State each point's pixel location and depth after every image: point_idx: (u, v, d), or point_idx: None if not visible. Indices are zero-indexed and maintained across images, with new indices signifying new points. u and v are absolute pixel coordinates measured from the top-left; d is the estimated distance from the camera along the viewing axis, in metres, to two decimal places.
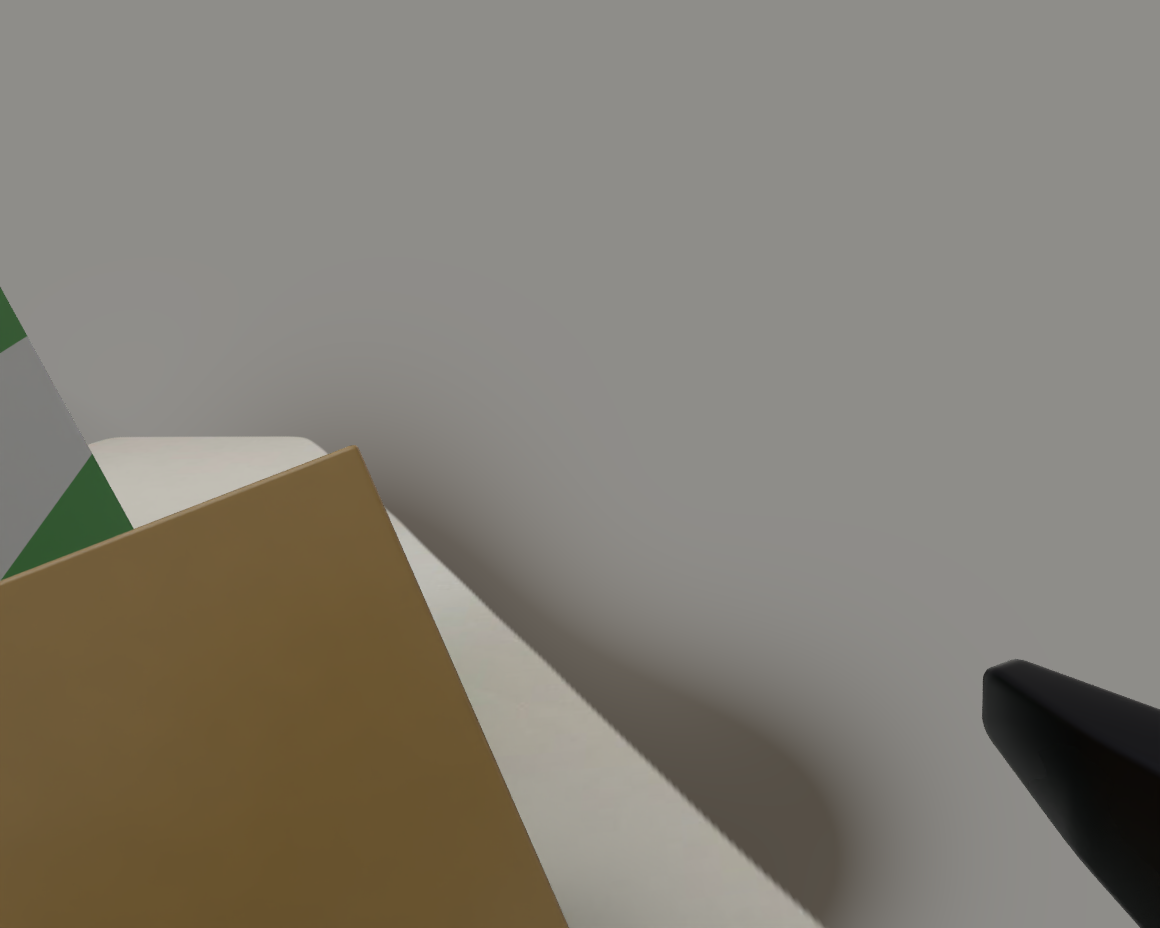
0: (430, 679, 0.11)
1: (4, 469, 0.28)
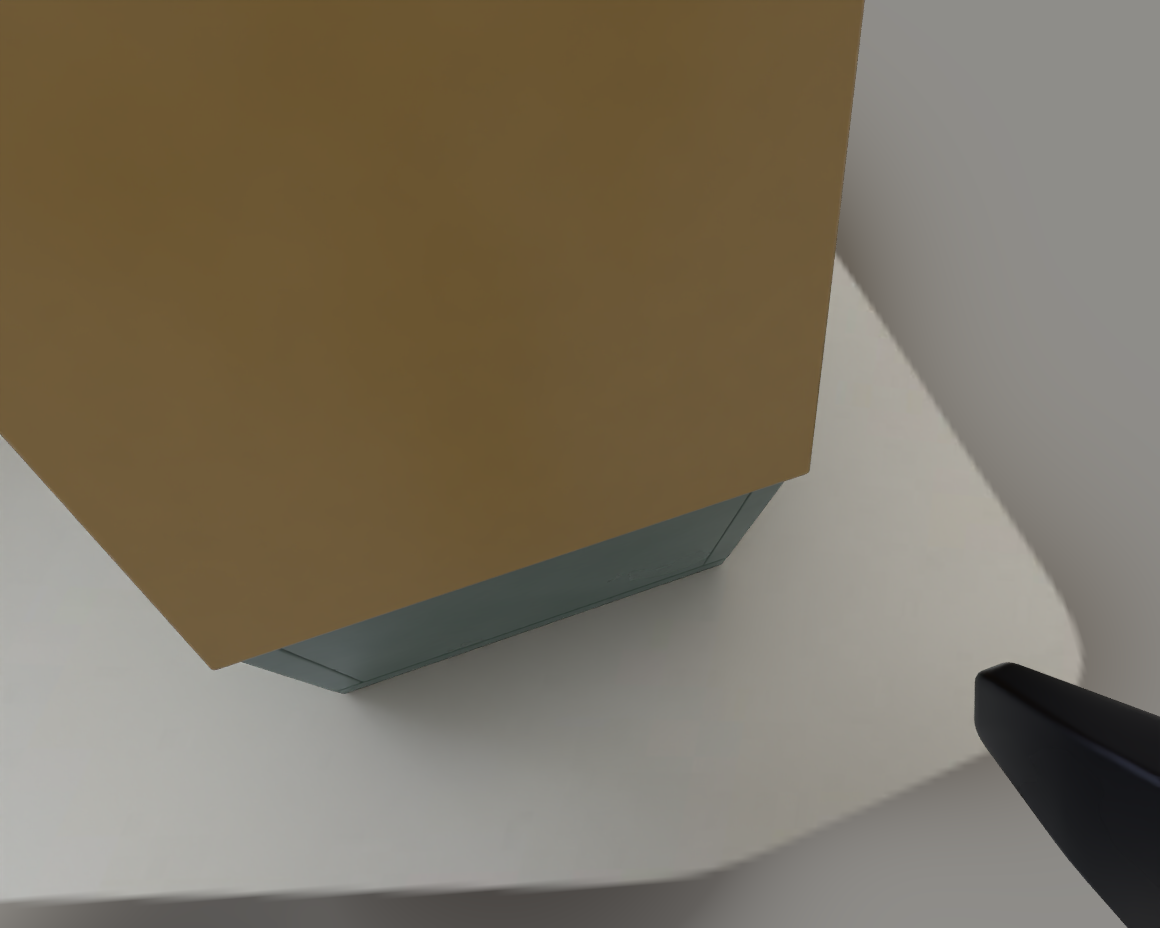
0: None
1: None
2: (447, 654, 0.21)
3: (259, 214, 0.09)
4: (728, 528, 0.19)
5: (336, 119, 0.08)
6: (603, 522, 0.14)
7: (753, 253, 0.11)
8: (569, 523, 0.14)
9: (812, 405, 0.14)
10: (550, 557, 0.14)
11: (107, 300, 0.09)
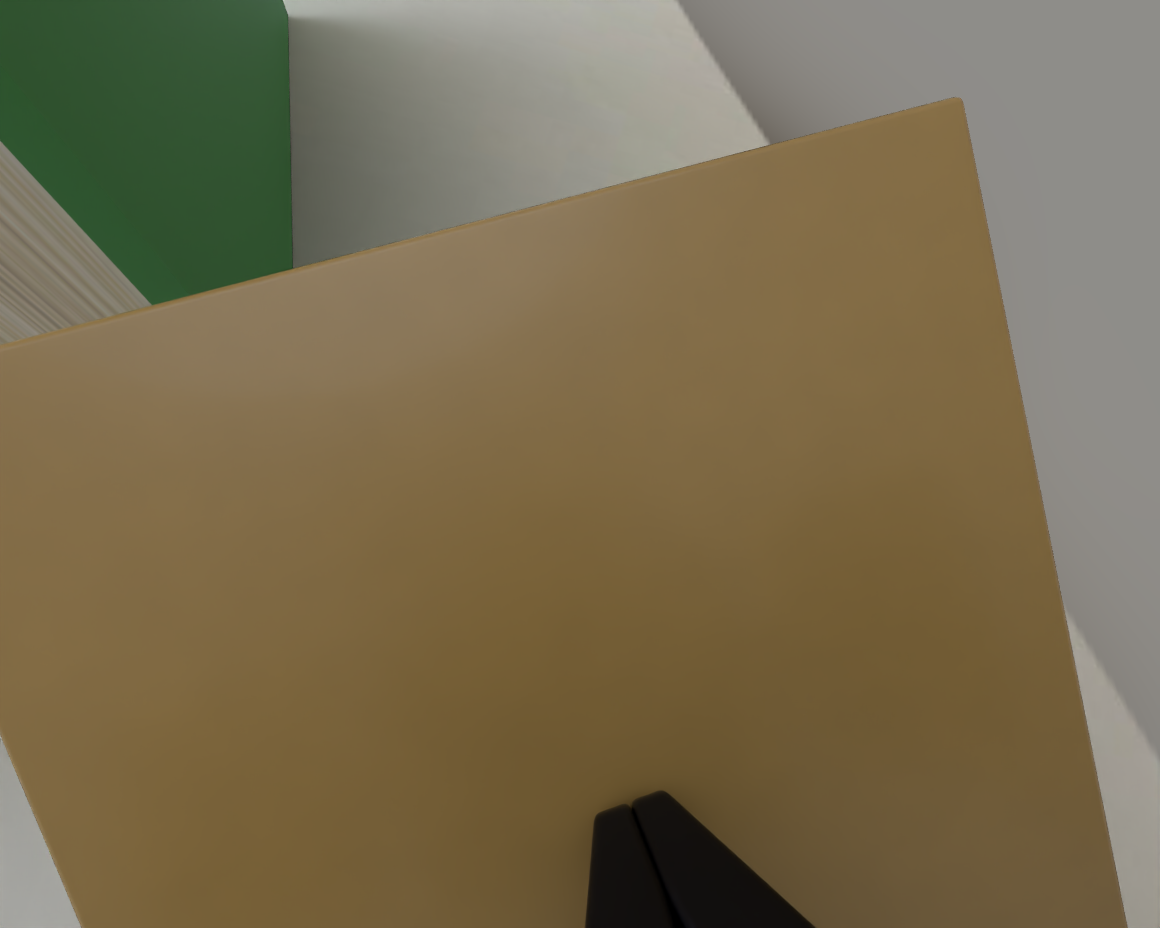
0: (998, 420, 0.09)
1: None
2: None
3: (485, 882, 0.08)
4: None
5: (565, 784, 0.08)
6: None
7: (1014, 864, 0.10)
8: None
9: None
10: None
11: None
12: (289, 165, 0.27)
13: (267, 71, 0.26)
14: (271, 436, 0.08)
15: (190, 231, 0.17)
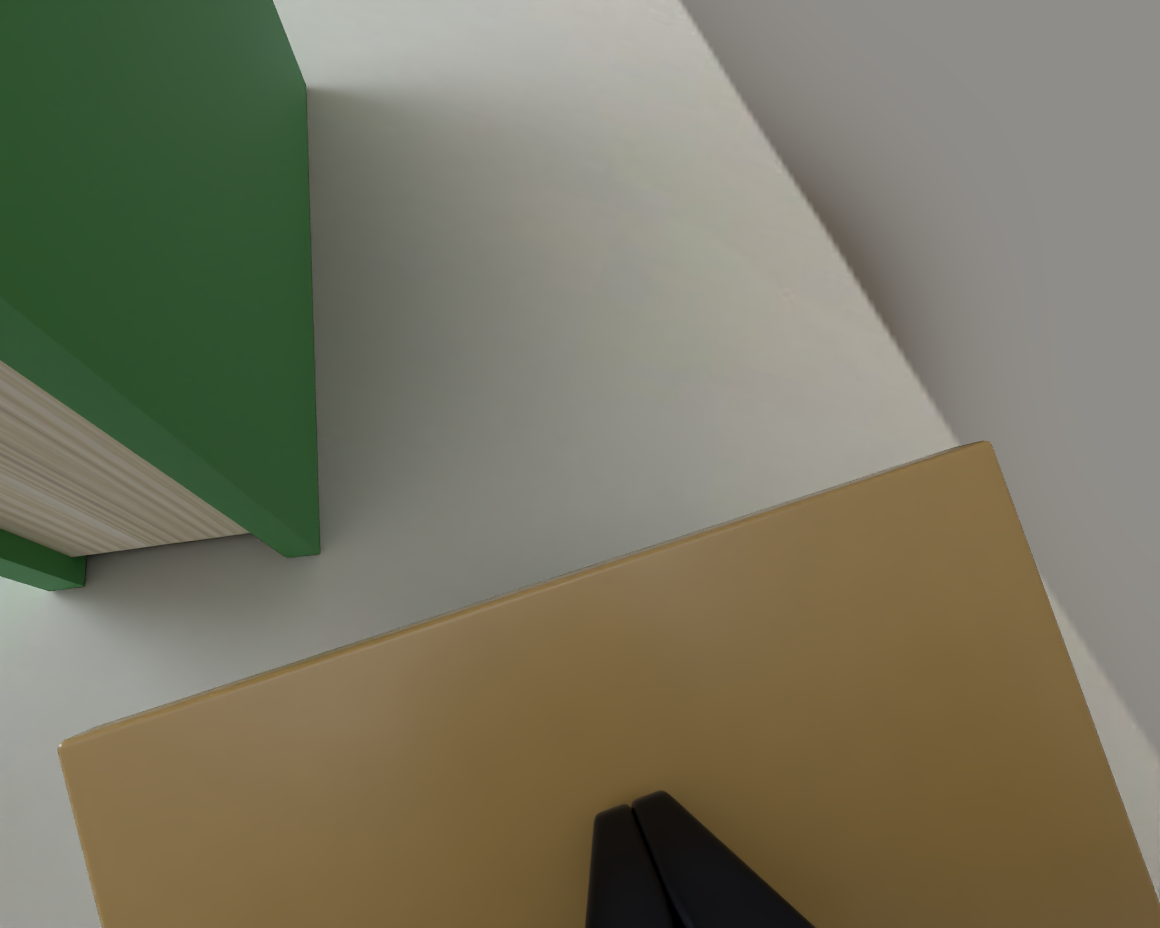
0: (1067, 728, 0.09)
1: None
2: None
3: None
4: None
5: None
6: None
7: None
8: None
9: None
10: None
11: None
12: (309, 256, 0.25)
13: (287, 159, 0.24)
14: (398, 775, 0.09)
15: (211, 389, 0.15)
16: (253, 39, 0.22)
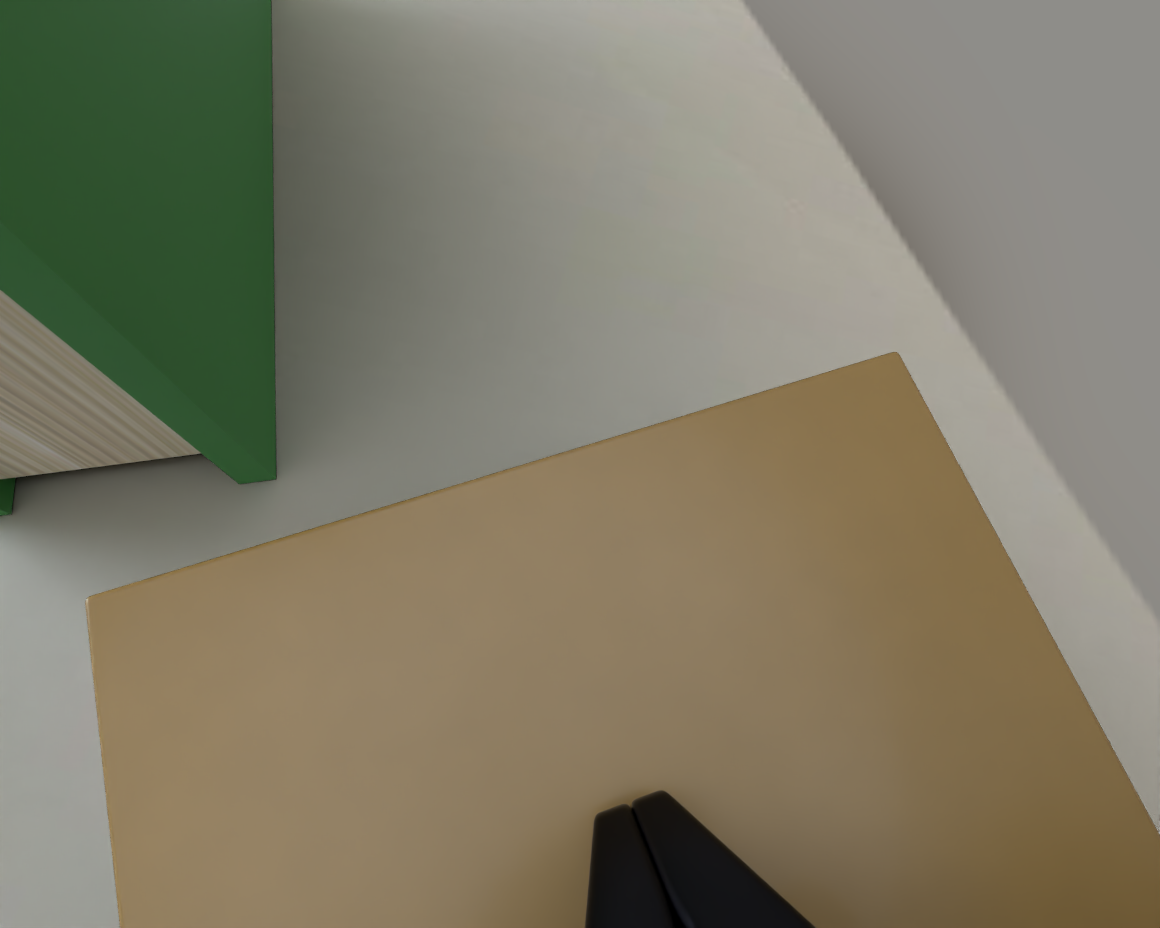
0: (1000, 593, 0.10)
1: None
2: None
3: None
4: None
5: None
6: None
7: None
8: None
9: None
10: None
11: None
12: (270, 164, 0.23)
13: (243, 51, 0.21)
14: (371, 626, 0.10)
15: (128, 253, 0.13)
16: None
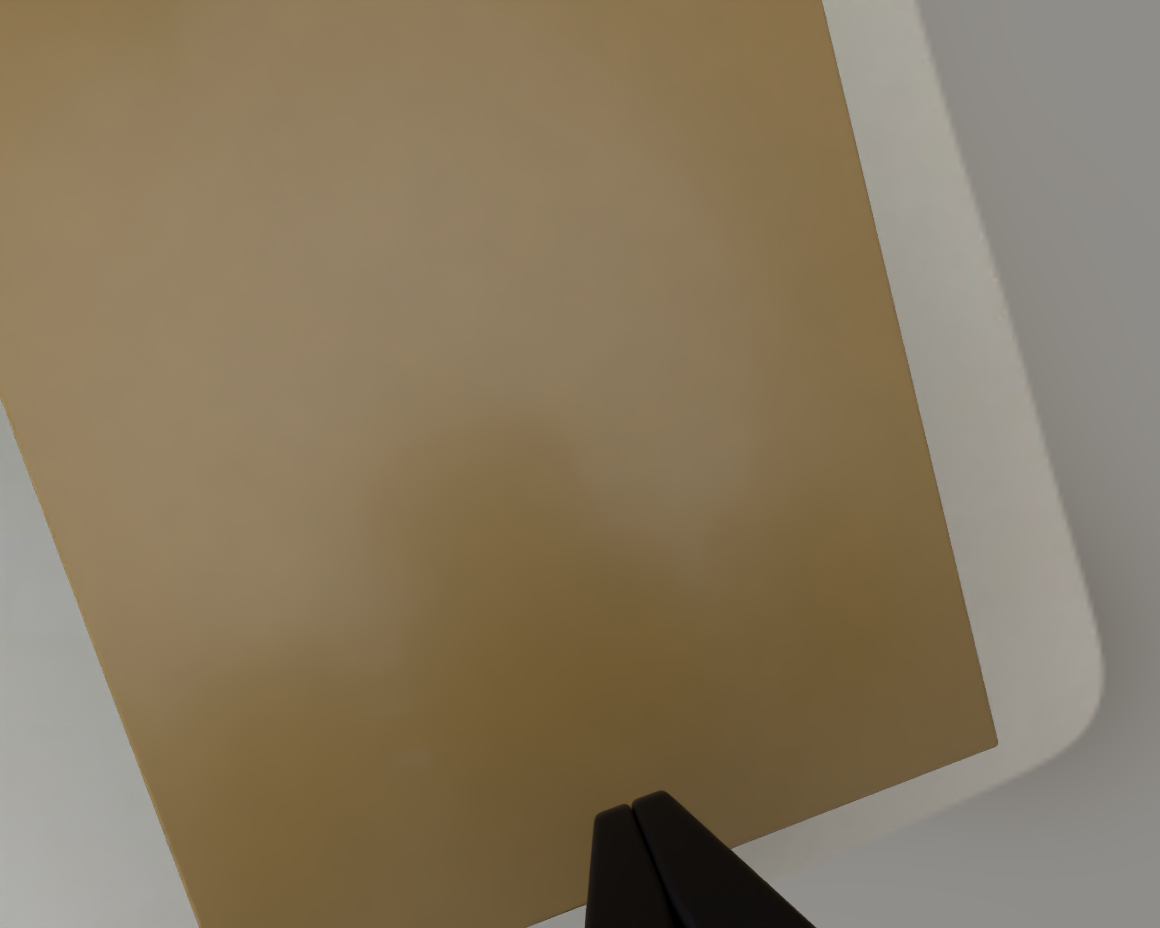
0: (806, 39, 0.10)
1: None
2: None
3: (359, 415, 0.10)
4: None
5: (429, 333, 0.10)
6: (736, 810, 0.11)
7: (836, 447, 0.11)
8: (692, 808, 0.11)
9: (967, 640, 0.11)
10: None
11: (219, 498, 0.10)
12: None
13: None
14: (172, 1, 0.09)
15: None
16: None
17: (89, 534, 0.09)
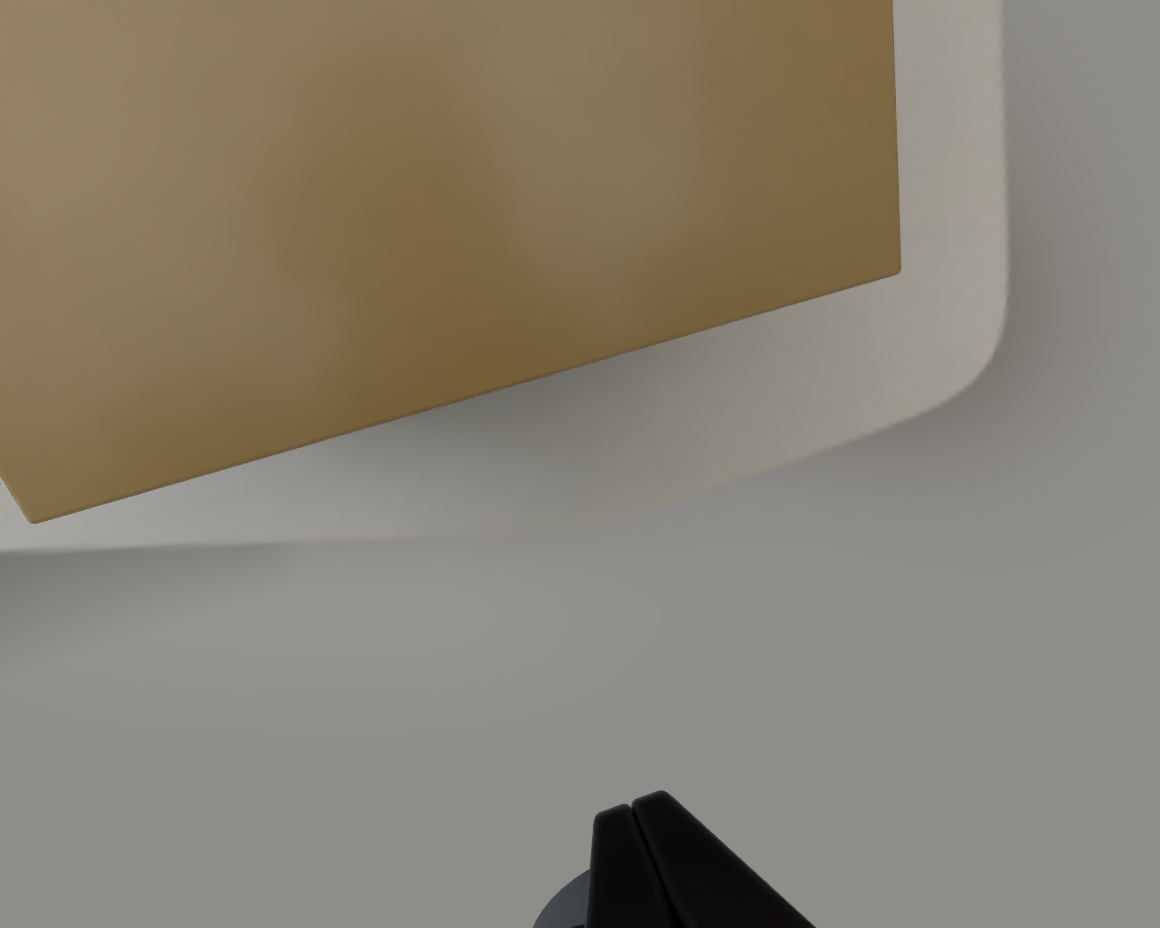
0: None
1: None
2: None
3: None
4: None
5: None
6: (605, 316, 0.10)
7: None
8: (555, 308, 0.10)
9: (889, 136, 0.10)
10: None
11: None
12: None
13: None
14: None
15: None
16: None
17: None
